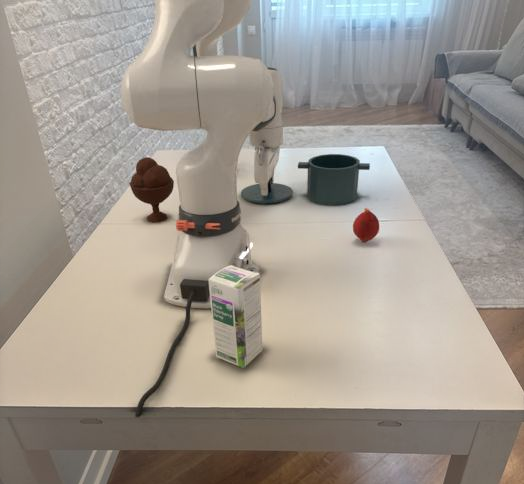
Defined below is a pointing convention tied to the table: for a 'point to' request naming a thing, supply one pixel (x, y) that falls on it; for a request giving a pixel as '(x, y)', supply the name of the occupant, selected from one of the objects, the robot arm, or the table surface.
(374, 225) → the onion
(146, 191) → the ice cream bowl
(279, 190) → the lid
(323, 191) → the pot
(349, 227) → the table surface
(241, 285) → the syrup box
